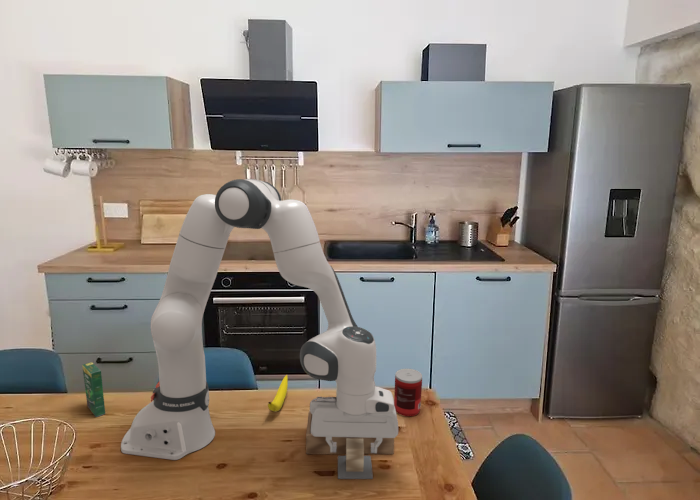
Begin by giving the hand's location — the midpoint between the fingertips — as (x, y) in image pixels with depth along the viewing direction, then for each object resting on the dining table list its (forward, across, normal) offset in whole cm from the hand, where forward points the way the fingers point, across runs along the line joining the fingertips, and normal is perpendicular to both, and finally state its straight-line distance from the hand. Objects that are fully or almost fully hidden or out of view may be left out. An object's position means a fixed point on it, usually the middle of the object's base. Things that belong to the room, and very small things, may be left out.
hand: (353, 451), depth 117 cm
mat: (+4, 0, 0) cm, 5 cm away
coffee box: (+6, -72, +25) cm, 76 cm away
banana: (+5, -21, +28) cm, 35 cm away
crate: (+4, -1, +11) cm, 12 cm away
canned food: (+5, +16, +26) cm, 31 cm away
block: (+4, 0, 0) cm, 4 cm away
